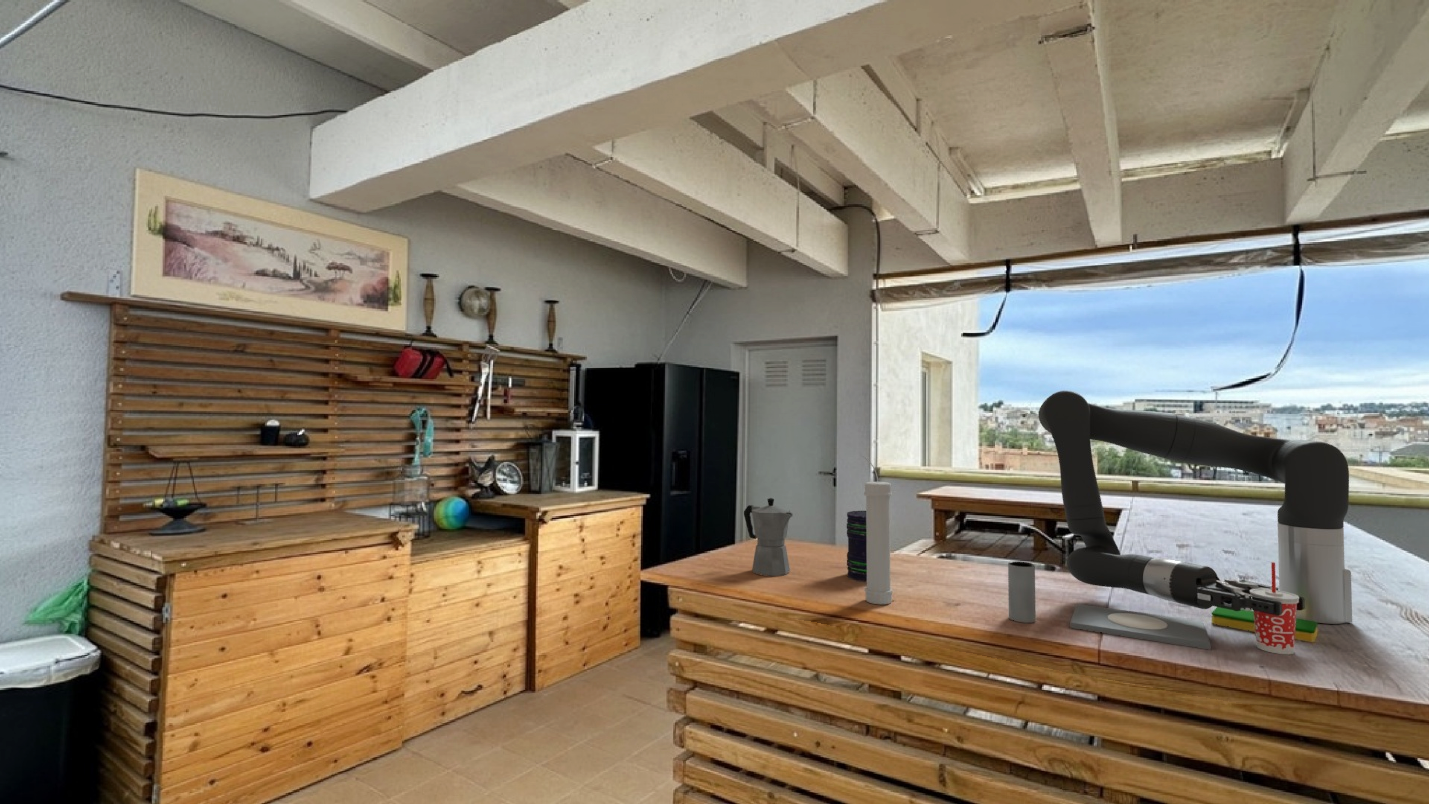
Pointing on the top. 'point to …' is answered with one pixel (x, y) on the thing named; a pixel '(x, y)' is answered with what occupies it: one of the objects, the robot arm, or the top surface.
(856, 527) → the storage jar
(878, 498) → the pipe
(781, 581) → the top surface
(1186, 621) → the slate board
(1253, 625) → the dish sponge
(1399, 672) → the top surface
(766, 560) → the coffeepot
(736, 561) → the top surface
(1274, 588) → the beverage cup
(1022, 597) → the gray cylinder
